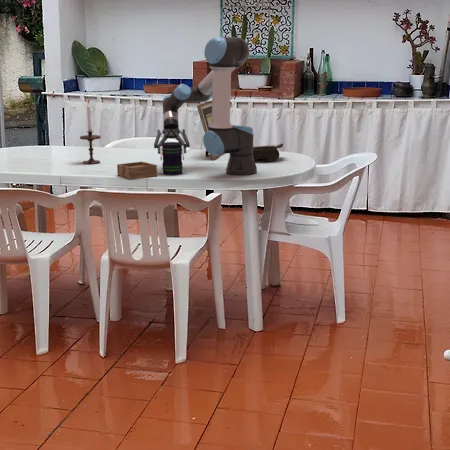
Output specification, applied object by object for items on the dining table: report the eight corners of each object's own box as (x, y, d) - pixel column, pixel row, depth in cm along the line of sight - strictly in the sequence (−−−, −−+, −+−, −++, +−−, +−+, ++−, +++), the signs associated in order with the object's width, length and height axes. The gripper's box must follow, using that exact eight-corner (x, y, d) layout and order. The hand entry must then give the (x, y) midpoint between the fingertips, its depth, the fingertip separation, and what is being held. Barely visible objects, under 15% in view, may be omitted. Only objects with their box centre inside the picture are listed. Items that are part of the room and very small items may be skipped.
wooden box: (157, 176, 360) (156, 165, 358) (131, 179, 352) (130, 168, 351) (142, 172, 371) (142, 161, 369) (117, 175, 363) (117, 164, 362)
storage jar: (159, 175, 363) (158, 144, 360) (166, 171, 373) (165, 141, 369) (179, 175, 361) (178, 144, 357) (185, 172, 370) (184, 142, 367)
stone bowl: (286, 162, 395) (285, 145, 393) (239, 166, 396) (238, 149, 393) (282, 155, 419) (281, 138, 417) (238, 159, 419) (237, 142, 417)
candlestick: (102, 161, 408) (98, 96, 400) (101, 164, 397) (98, 97, 389) (81, 161, 406) (78, 96, 398) (81, 165, 396) (77, 98, 388)
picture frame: (214, 160, 406) (214, 105, 399) (197, 160, 408) (195, 104, 400) (226, 152, 437) (226, 100, 430) (210, 151, 439) (209, 100, 432)
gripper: (193, 126, 378) (195, 162, 366) (148, 127, 376) (149, 163, 364) (193, 117, 371) (195, 153, 360) (147, 118, 369) (148, 154, 358)
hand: (172, 158), depth 362 cm, fingers open, 10 cm apart
